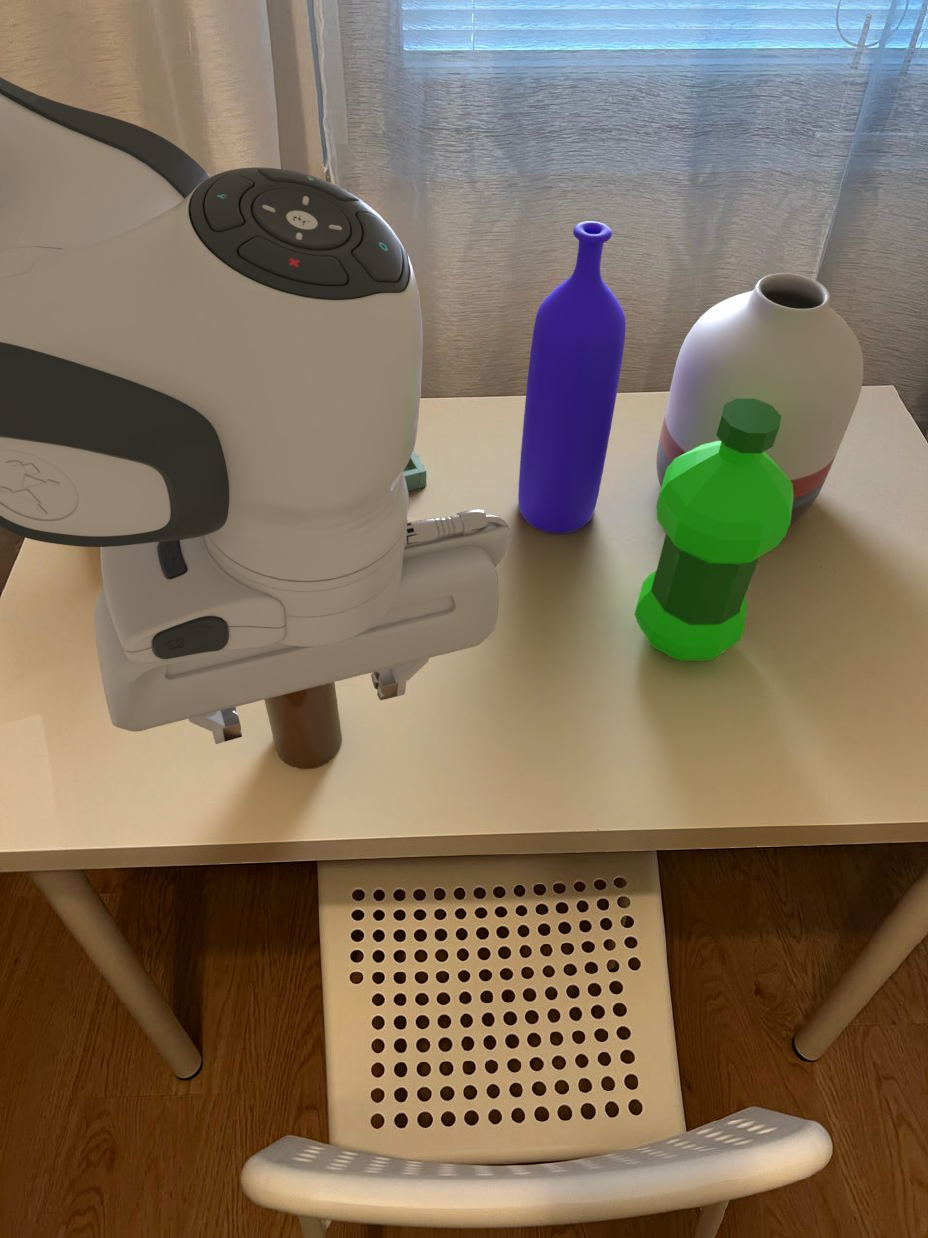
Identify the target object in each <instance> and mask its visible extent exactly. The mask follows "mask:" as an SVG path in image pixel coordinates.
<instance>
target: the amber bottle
mask: <svg viewBox="0 0 928 1238" xmlns="http://www.w3.org/2000/svg"><path fill="white" fill-rule="evenodd" d="M337 697H338V696H337V690H336V684H335V682H332V683H328V684H324V685H320V686H316V687H312V688H308V689H304V690H300V691H296V692H292V693H288V694H284V695H280V696H276V697H272V698H268V699H264V700H263V701H264V704H265V709H266V712H267V717H268V721H269V725H270V730H271V735H272V739H273V742H274V747H275V751H276V754H277V756H278V757H279V759H280V760H281V761H282V762H283V763H285V764H286V765H288V766H290V767H291V768H295V769H299V770H313V769H317V768H320V767H322V766H324V765H326V764H328V763H329V762H331V761H332V760H333V759H334V758H335V757H336V756H337V754H338V752H339V751H340V749H341V746H342V743H343V735H342V728H341V720H340V713H339V704H338V698H337Z"/></svg>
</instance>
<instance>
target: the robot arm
mask: <svg viewBox="0 0 928 1238" xmlns="http://www.w3.org/2000/svg"><path fill="white" fill-rule="evenodd" d="M422 321H423V318H422V309H421V299H420V293H419V287H418V282H417V278H416V276H415V271H414V268H413V265H412V262H411V260H410V257H409V254H408V252H407V250H406V247H405V246H404V244H403V242H402V241H401V239H400V238H399V236H398V234H397V233H396V231H395V230H394V229H393V228H392V227H391V226H390V224H389V223H388V222H387V221H386V219H385V218H384V217H382V216H381V214H379V213H378V212H377V210H375V209H374V208H372V206H370V205H369V204H367V203H366V201H363V200H362V199H360V198H359V197H357V196H356V195H354V194H352V193H351V192H349V191H348V190H346V189H344V188H343V187H340V186H338V185H336V184H334V183H332V182H329V181H327V180H325V179H323V178H319V177H317V176H315V175H311V174H308V173H304V172H300V171H295V170H291V169H290V170H289V169H282V168H274V167H259V166H257V167H240V168H235V169H234V168H233V169H229V170H226V171H222V172H220V173H217V174H214V175H212V176H211V175H210V174H209V173H208V172H207V170H205V169H204V168H203V167H202V165H201V164H200V163H198V162H197V161H196V160H195V159H194V158H193V157H191V155H189V154H188V153H186V152H185V151H184V150H183V149H182V148H180V147H178V146H177V145H176V144H175V143H173V142H171V141H169V140H168V139H166V138H164V137H163V136H161V135H159V134H157V133H155V132H153V131H151V130H149V129H147V128H144V127H142V126H140V125H137V124H134V123H131V122H129V121H125V120H122V119H120V118H116V117H113V116H110V115H107V114H101V113H99V112H95V111H91V110H86V109H83V108H79V107H76V106H73V105H69V104H65V103H63V102H59V101H56V100H53V99H50V98H48V97H45V96H42V95H39V94H37V93H35V92H32V91H30V90H27V89H26V88H23V87H21V86H19V85H17V84H15V83H13V82H10V81H8V80H7V79H5V78H3V77H1V76H0V528H2V529H4V530H6V531H8V532H10V533H12V534H15V535H17V536H19V537H23V538H26V539H28V540H31V541H32V540H33V541H37V542H41V543H48V544H53V545H54V544H56V545H61V546H71V547H83V548H84V547H85V548H100V552H99V553H100V571H101V577H102V584H103V587H102V589H101V590H100V591H99V594H98V596H97V598H96V601H95V605H94V606H95V607H94V637H95V646H96V653H97V658H98V664H99V670H100V671H99V672H100V676H101V681H102V687H103V691H104V695H105V700H106V705H107V710H108V715H109V719H110V721H111V724H112V725H113V726H114V727H116V728H118V729H122V730H124V731H128V732H135V733H136V732H137V733H138V732H141V731H143V732H144V731H146V730H149V729H153V728H158V727H161V726H165V725H169V724H173V723H177V722H181V721H185V720H188V721H189V723H191V724H194V725H196V726H199V727H200V728H203V729H204V730H207V731H210V732H212V736H213V740H214V744H215V745H219V744H222V743H227V742H228V741H233V740H236V739H239V738H242V737H243V734H242V726H241V721H240V718H239V717H240V716H239V714H238V713H237V707H239V706H241V707H242V706H245V705H248V704H252V703H256V702H260V701H265V700H264V699H268V698H272V697H276V696H280V695H284V694H288V693H292V692H296V691H300V690H304V689H308V688H312V687H316V686H320V685H324V684H328V683H332V682H340V681H343V680H348V679H351V678H352V679H353V678H356V677H359V676H363V675H367V674H371V681H372V685H373V688H374V689H375V690H377V691H376V695H377V697H378V700H379V701H385V700H389V699H392V698H398V697H401V696H404V695H406V688H407V681H410V680H411V679H412V677H414V676H415V675H416V674H417V673H419V671H420V670H421V669H422V668H423V667H424V666H426V664H427V663H429V659H430V658H435V657H438V656H443V655H446V654H450V653H455V652H458V651H462V650H467V649H472V648H474V647H477V646H479V645H481V644H482V643H484V642H485V640H486V639H488V638H489V637H490V636H491V635H492V634H493V633H494V632H495V630H496V626H497V620H498V615H499V605H500V604H499V601H500V588H499V576H498V571H497V569H496V568H497V567H498V566H499V564H501V562H502V560H504V558H505V555H506V553H507V548H508V544H509V540H510V529H509V525H508V523H507V522H506V520H504V519H503V518H502V517H500V516H498V515H493V514H487V512H485V510H483V509H469V510H463V511H460V512H457V513H456V514H454V515H450V516H444V517H432V518H424V519H418V520H415V521H409V509H410V499H409V491H408V490H407V485H406V481H405V477H404V474H403V471H404V469H405V468H406V466H407V464H408V462H409V460H410V457H411V455H412V452H413V450H414V449H415V445H416V443H417V435H418V427H419V416H420V408H421V407H420V406H421V395H422V393H421V392H422V382H423V381H422V378H423V349H424V348H423V346H424V345H423V322H422ZM414 451H415V450H414ZM408 521H409V522H408Z"/></svg>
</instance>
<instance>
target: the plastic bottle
mask: <svg viewBox="0 0 928 1238" xmlns="http://www.w3.org/2000/svg"><path fill="white" fill-rule="evenodd" d="M780 421H781V415H780V414H779V413H778V412H777V411H776V410H775V408H774V407H773V406H772V405H770V404H767V403H765V402H762V401H760V400H757V399H748V398H736V399H734V400H732V401H730V402H728V403H726V404H724V407H723V411H722V414H721V418H720V421H719V425H718V430H717V434H716V435H717V437H718V438H719V439H720V440H721V441H715V442H711V443H707V444H703V445H700V446H698V447H696V448H694V449H692V450H690V451H688V452H686V453H684V454H683V455H681V456H679V457H677V458H675V459H674V460H673V461H672V463H671V464H670V465H669V466H668V467H667V469H666V472H665V476H664V480H663V483H662V487H661V486H660V491H659V495H658V498H657V504H656V520H657V521H658V523H659V525H660V526H661V527H662V529H663V530H664V531H665V535H664V540H663V544H662V548H661V552H660V554H659V560H658V564H657V567H656V570H654V571H653V572H652V573H651V574H649V575H648V576H647V577H646V578H645V579H644V580H643V581H642V585H641V587H640V592H639V595H638V599H637V604H636V607H635V610H634V617H635V619H636V623H637V624H638V626H639V628H640V629H641V631H642V633H643V635H644V637H645V638H646V640H647V642H648V643H649V645H650V646H651V647H652V648H653V649H655V650H657V651H659V652H661V653H663V654H665V655H666V656H669V657H670V658H672V659H673V660H676V661H681V662H683V661H684V662H686V661H687V662H708V661H713V660H714V659H715V658H717V657H719V656H720V655H722V654H723V653H724V652H726V651H728V650H729V649H731V648H732V647H734V646H735V645H736V644H737V643H739V642H740V641H741V640H742V637H743V634H744V631H745V625H746V617H747V612H748V602H747V597H746V593H747V591H748V589H749V586H750V583H751V580H752V578H753V575H754V572H755V571H756V567H757V564H758V561H759V559H760V558H761V557H762V556H764V555H766V554H767V553H769V552H770V551H772V550H773V549H775V548H777V547H778V546H779V545H780V543H781V542H782V541H783V539H784V538H785V537H786V535H787V533H788V531H789V528H790V526H791V525H790V522H791V514H792V506H793V498H794V494H793V484H792V482H791V481H790V480H789V479H788V478H787V476H786V475H785V474H784V473H783V472H782V470H781V469H780V468H779V467H778V466H777V465H776V463H775V462H774V461H773V460H772V459H771V458H770V457H769V456H768V455H767V454H766V453H765V452H764V451H766V450H768V449H770V448H771V447H773V444H774V442H775V439H776V436H777V433H778V430H779V427H780ZM789 525H790V526H789Z"/></svg>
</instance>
